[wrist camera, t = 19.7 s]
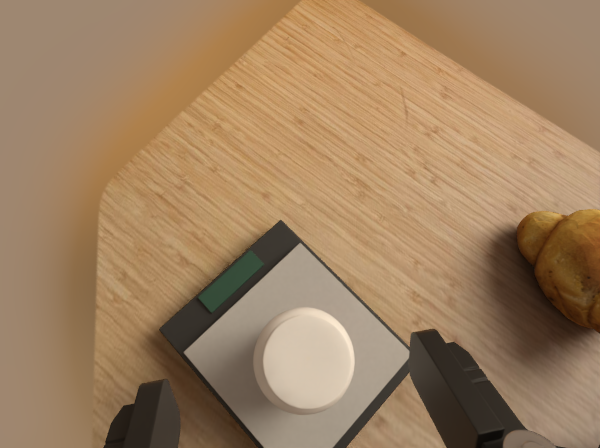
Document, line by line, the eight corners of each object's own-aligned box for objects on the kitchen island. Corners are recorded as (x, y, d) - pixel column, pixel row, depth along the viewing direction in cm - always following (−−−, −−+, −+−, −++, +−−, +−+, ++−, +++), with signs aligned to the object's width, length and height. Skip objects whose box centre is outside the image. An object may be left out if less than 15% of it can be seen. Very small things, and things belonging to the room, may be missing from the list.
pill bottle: (352, 354, 29) (391, 359, 19) (299, 415, 28) (309, 458, 17) (298, 300, 31) (307, 276, 20) (244, 356, 29) (222, 362, 18)
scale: (301, 490, 29) (302, 505, 26) (165, 330, 32) (154, 328, 29) (413, 357, 32) (425, 358, 30) (280, 225, 36) (280, 215, 33)
